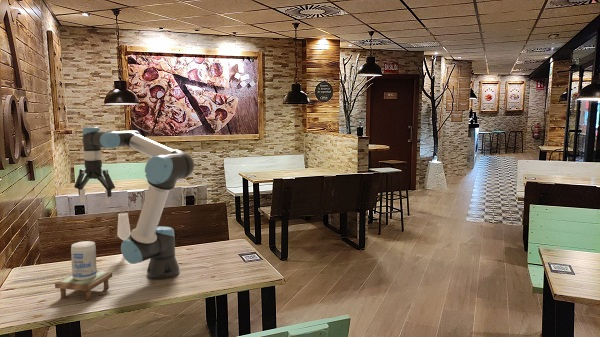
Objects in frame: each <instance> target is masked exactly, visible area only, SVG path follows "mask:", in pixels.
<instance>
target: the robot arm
mask: <svg viewBox="0 0 600 337" xmlns="http://www.w3.org/2000/svg"><path fill="white" fill-rule="evenodd" d="M81 136H82V146H83V160H84V163H83V164H84V168H80V169H79V170H78V171H79V172H78V176H77V179H76V181H75V183H74V189H77V190H78V196H79V199H80V200H79V201H80V204H83V203H86V188H85V186H86V185H87V183H88V182H89V180H92V179H93V180H98V181H99V182H100V184H101V186H103V187H104V189H105V191H104V195H105V196H104V198H105V199H104V200H105V205H109V204H111V197H112V195H113V194H112V190H114V189H116V186H115V184H114V182H113V180H112V179H111V178H112V177H111V175H110V174H109V169H108V168H107V169H102V166H103V161H102V149H103V148H104V149H115V148H121V147H128V148H129V149H132V150H134V151H137V152H138V153H141V154H143V155H145V156H147V157H149V159H148V161H147V162H146V164H145V168H144V173H145V178H146V180H147V181H146V182H147V184H148V185H149V186H148V190H147V192H146V196H145V198H144V202H143V205H142V208H141V210H140V214H139V218H138V220H137V224H136V227H135V228H133V229H132V230H130V232H131V234H130V236H129V237H128V238H127V239H126V240H124V241H123V240H122V242H121V245H120V251H121V255H123V257H124V258H125V259H124V260H125V261H126V262H128V263H129V264H130V265H131V264H132V265H136V264H141V263H142V262H145V261H148V260H149V259H150V260H149V262H148V267H147V268H146V269H147V270H146V275H147V277H148V278H150V279H157V280H162V279H169V278H172V277H175V276H177V275H179V274H180V266H179V263H178V260H177V257H176V243H175V242H176V238H175V237H176V236H175V230H174V228H173V227H170V226H160V225H159V224H160V220H161V217H162V213H163V211H164V208H165V205H166V202H167V199H168V196H169V193H170V191H172V190H174V189H175V186H176V183H177V181H178V180H183V179H187V178H188V177H190V176H191V175H192V173H193V172H194V169H195V161H194V159H193V157H192V156H191V155H190V154H189V153H187V152H185V151H183V150H180V149H178V148H177V149H173V148H171V147H168V146H166V145H164V144H161V143H158V142H156V141H154V140H152V139H149V138H147V137H144V136H143V135H142V134H141V132H139V131H138V130H133V129H131V130H115V131H113V130H112V131H101V130H100V127H99V126H86V127H85V126H84V127H83V128H82V135H81Z"/></svg>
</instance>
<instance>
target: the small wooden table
mask: <svg viewBox="0 0 600 337" xmlns="http://www.w3.org/2000/svg"><path fill="white" fill-rule="evenodd" d="M112 278H113V271H112V272H110V271H102V270H101V271H97V275H96V276H95V277H93V278H91V279H87V280H75V279H73V277H72V274H70V275H68V276H67V277H64V278H63V279H61V280H58V281H57V282H55V283H54V288H55V289H60V299H63V300H64V299H66V298H67V290H75V291H84V292H85V301H86V302H90V301H92V290H93V289H95V288H96V287H98V286H99V285H101V284H103V290H108V289H109V288H110V287H109V286H110V285H109V284H110V283H109V280H110V279H112Z"/></svg>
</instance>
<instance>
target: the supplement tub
mask: <svg viewBox="0 0 600 337" xmlns="http://www.w3.org/2000/svg"><path fill="white" fill-rule="evenodd" d="M70 255H71V275H72V277H73V279H75V280H87V279H91V278H93V277H95V276H96V275H97V268H98V267H97V249H96V242H95V241H92V240H91V241H90V240H86V241H85V240H84V241H83V240H82V241H78V242H75V243H72V244H71V248H70Z"/></svg>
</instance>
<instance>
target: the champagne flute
mask: <svg viewBox="0 0 600 337" xmlns="http://www.w3.org/2000/svg"><path fill="white" fill-rule="evenodd" d="M117 217H118V218H117V237H118V238H119V239H121V240H122V242H123V241H124V240H126V239H129V237H130V234H131V227H130V226H131V225H130V220H129V213H128V212H122V213H118V215H117ZM118 259H119V260H125V258H124V257H123V254H121V255H120V256H119V257H118Z"/></svg>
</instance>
